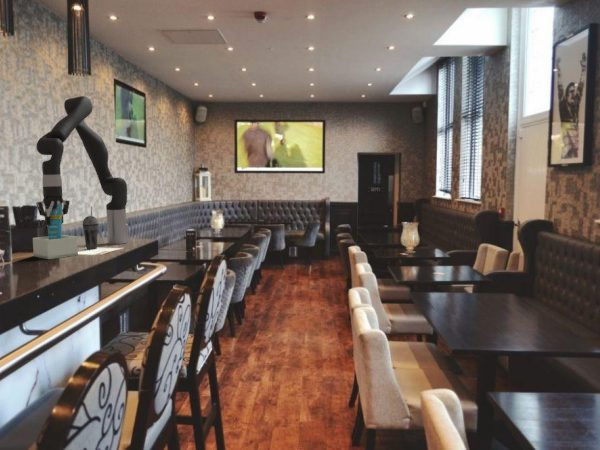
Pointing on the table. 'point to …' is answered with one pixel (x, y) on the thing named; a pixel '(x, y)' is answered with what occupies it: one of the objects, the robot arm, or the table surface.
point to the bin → (55, 247)
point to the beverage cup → (90, 231)
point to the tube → (55, 223)
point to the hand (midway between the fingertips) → (54, 224)
